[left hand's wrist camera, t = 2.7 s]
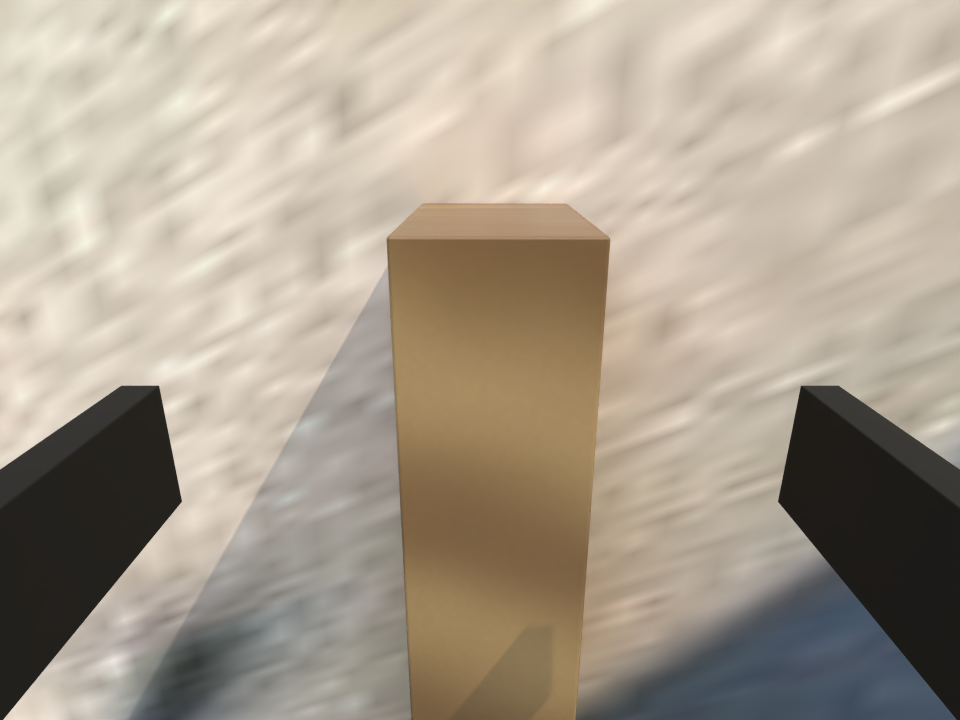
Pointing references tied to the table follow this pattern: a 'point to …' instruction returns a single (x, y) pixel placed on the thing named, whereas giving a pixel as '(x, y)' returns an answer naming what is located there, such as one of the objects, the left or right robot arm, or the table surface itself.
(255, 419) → the table surface
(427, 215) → the beam
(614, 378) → the table surface
